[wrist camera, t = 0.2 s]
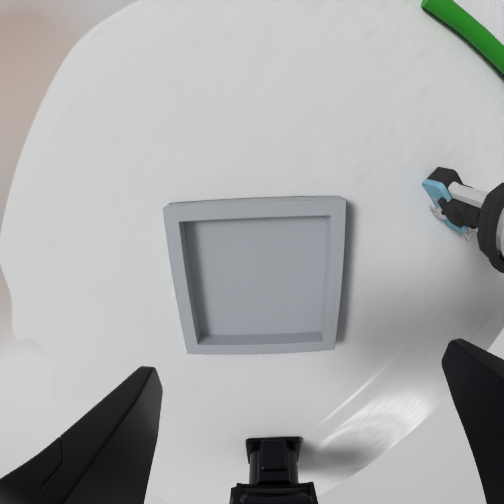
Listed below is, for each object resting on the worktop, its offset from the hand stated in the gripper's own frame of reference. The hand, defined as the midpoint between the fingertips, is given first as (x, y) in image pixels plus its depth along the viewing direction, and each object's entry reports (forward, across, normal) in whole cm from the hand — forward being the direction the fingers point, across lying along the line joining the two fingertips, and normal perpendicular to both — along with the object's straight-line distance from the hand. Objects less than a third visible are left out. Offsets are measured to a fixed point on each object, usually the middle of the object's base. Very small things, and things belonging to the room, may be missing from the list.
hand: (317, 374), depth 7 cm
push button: (+14, -14, -2) cm, 20 cm away
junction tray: (+14, +1, +4) cm, 15 cm away
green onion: (+14, -27, -14) cm, 33 cm away
